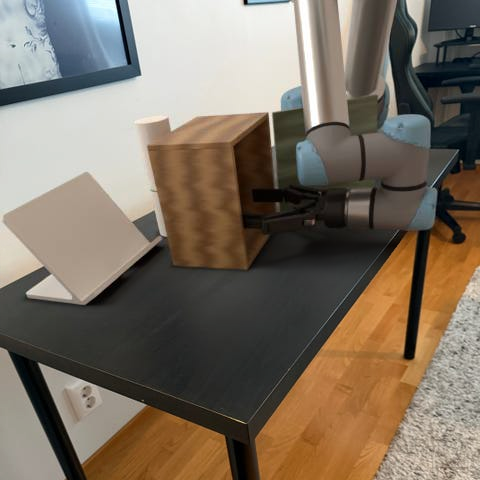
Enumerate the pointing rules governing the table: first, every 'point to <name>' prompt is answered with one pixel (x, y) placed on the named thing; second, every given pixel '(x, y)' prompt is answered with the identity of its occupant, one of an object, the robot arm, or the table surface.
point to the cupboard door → (293, 131)
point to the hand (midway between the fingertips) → (242, 207)
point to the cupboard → (214, 188)
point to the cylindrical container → (147, 134)
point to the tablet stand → (77, 240)
